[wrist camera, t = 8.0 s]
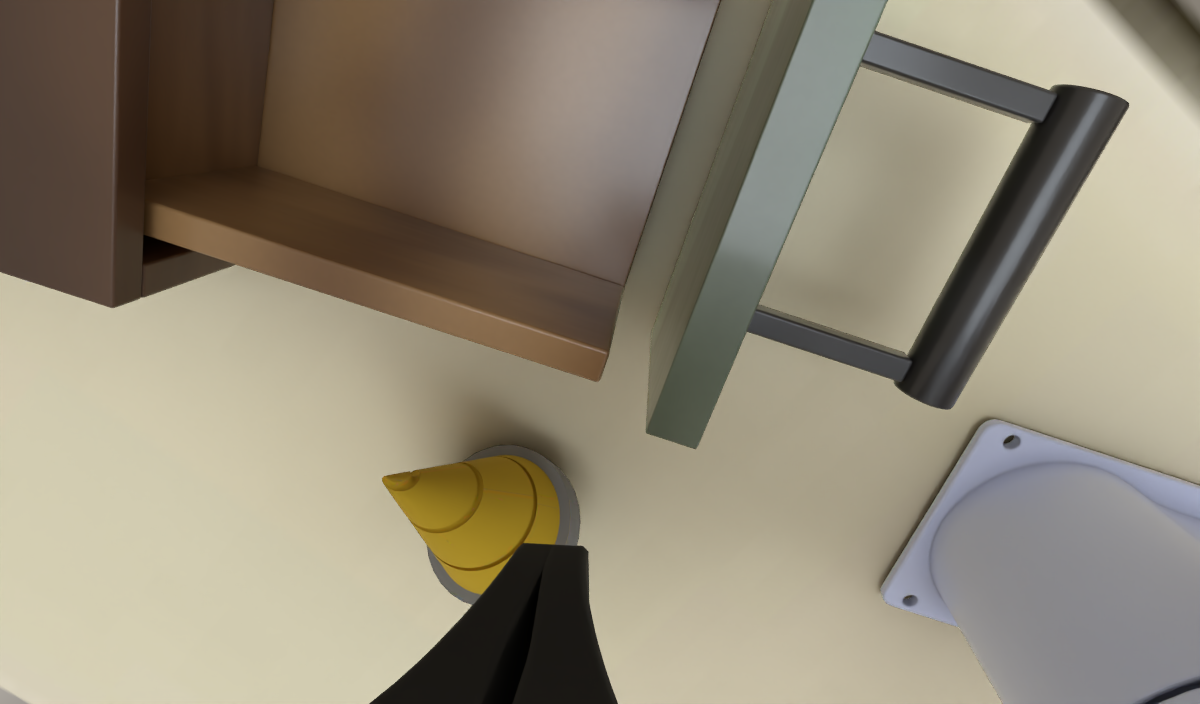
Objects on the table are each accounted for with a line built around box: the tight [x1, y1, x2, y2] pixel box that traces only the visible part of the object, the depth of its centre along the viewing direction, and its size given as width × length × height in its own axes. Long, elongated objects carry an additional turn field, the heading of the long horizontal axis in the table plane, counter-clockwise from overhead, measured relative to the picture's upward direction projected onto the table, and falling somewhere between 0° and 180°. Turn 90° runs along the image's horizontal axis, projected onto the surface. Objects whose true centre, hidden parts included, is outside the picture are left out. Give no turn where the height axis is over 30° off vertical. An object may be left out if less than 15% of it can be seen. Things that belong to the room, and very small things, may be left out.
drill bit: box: [382, 445, 580, 605], centre depth 20 cm, size 5×5×10 cm
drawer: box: [143, 0, 1129, 449], centre depth 15 cm, size 20×11×7 cm, turn 72°
